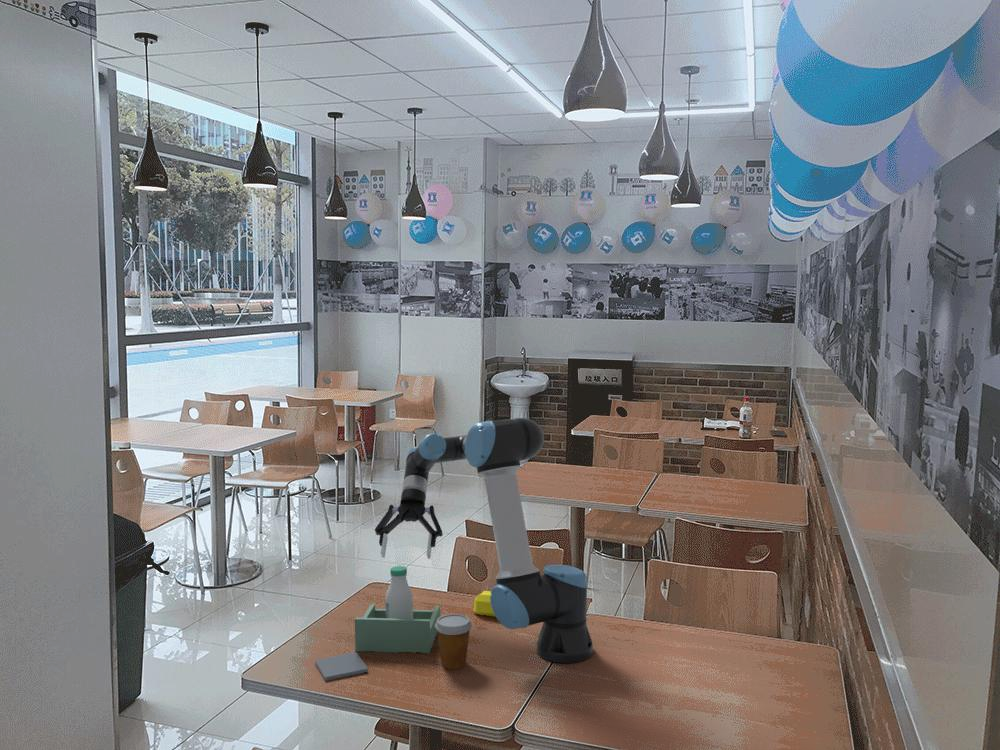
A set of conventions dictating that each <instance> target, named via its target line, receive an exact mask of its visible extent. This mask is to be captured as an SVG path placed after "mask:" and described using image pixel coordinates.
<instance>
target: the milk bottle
mask: <svg viewBox="0 0 1000 750" xmlns="http://www.w3.org/2000/svg"><path fill="white" fill-rule="evenodd" d="M389 571H390V578H391V579H390V583H389V585H388V588H387V591H386V595H385V609H386V618H395V619H413V610H414V601H413V600H414V599H413V592H412V590H411V587H410V586H409V583H408V580H407V576H408V574H407V573H408V569H407V567H405V566H403V565H398V566H393V567H391V568H390V570H389Z"/></svg>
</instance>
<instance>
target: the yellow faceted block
mask: <svg viewBox="0 0 1000 750" xmlns="http://www.w3.org/2000/svg"><path fill="white" fill-rule="evenodd" d="M490 595H491V590H490V591H489V590H483V591H482V592H481V593H479V594H478V595H477V596H476V597H475V598H474V601H473V603H472V608H473V612H474V613H475V614H477V615H478V614H480V615H479V616H484V615H486V617H494V618H496V616H495V614H494V612H493V609H492V606H491V601H490Z"/></svg>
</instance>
